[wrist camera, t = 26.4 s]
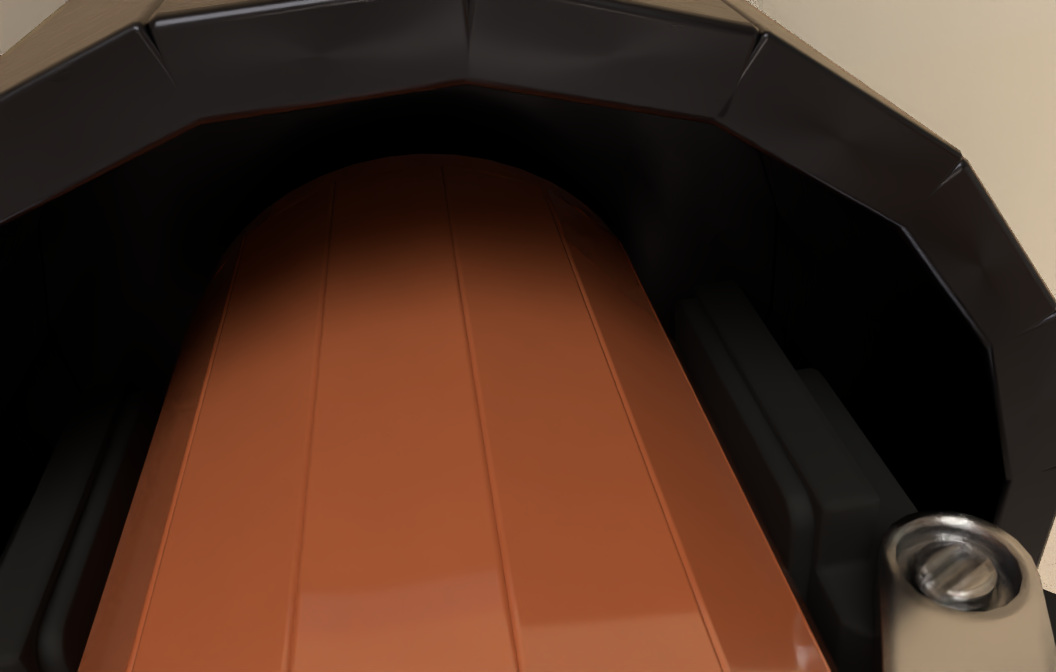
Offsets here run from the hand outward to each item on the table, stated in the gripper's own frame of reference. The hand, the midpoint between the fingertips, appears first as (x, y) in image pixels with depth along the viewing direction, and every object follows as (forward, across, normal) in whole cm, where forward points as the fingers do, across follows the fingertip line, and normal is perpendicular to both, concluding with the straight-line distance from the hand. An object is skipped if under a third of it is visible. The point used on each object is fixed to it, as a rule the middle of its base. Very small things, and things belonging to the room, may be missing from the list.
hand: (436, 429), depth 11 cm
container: (+1, 0, 0) cm, 1 cm away
